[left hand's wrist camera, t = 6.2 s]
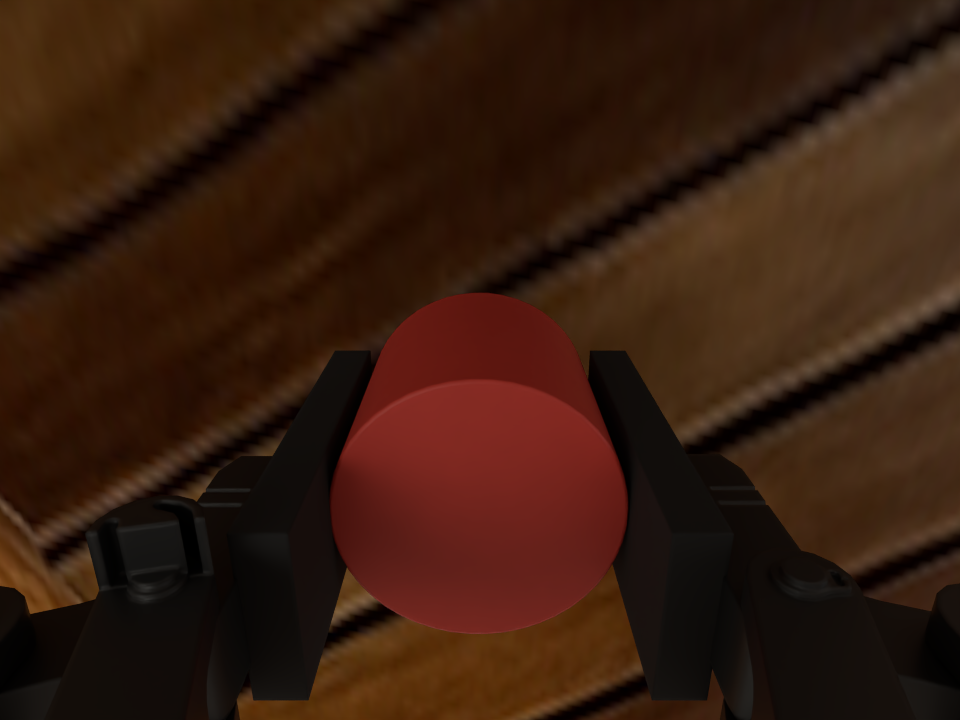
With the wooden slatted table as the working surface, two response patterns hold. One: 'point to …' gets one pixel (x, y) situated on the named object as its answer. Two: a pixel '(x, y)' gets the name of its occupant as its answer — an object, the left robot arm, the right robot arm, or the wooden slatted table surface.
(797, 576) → the left robot arm
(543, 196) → the wooden slatted table surface
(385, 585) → the canister
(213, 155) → the wooden slatted table surface
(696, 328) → the wooden slatted table surface
